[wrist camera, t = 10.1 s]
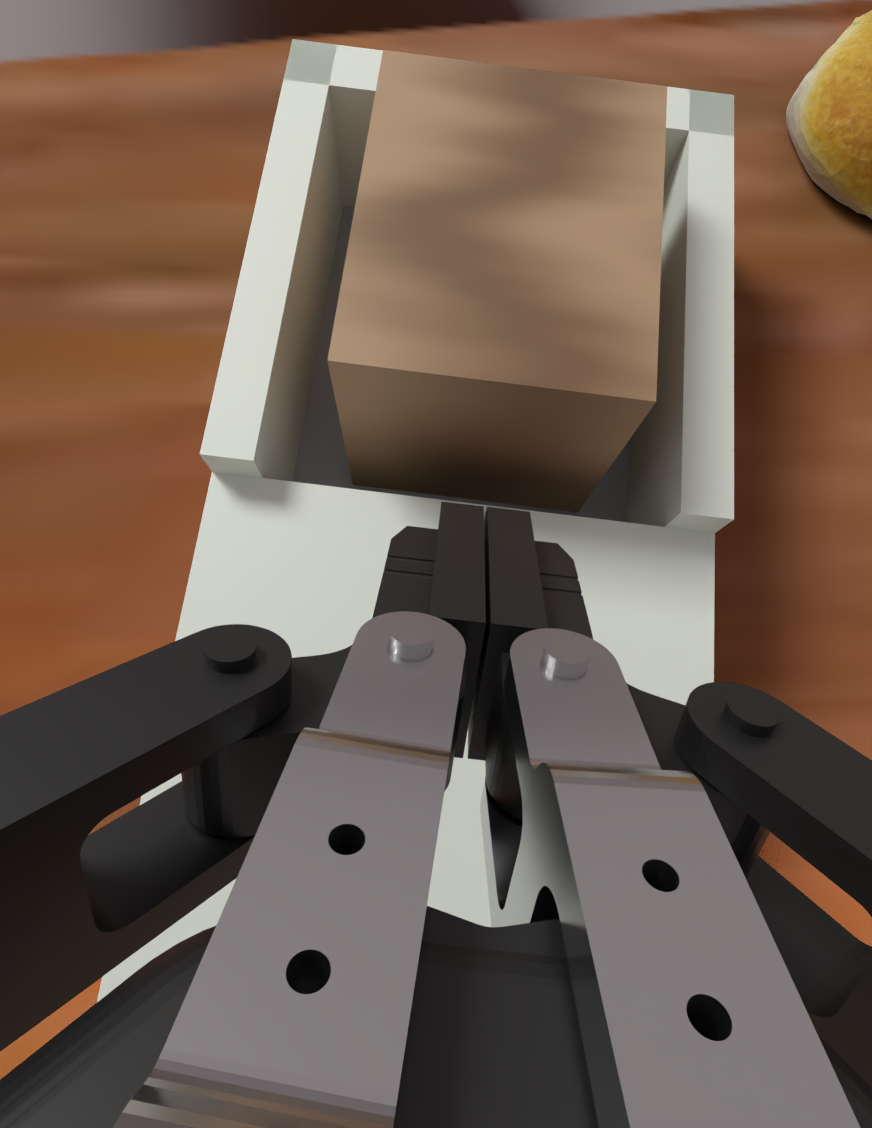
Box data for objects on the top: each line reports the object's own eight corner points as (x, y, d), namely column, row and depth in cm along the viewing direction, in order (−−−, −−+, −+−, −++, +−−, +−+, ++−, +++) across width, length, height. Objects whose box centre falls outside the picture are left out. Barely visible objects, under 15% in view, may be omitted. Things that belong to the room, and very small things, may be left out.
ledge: (111, 1193, 15) (29, 1315, 12) (245, 519, 20) (211, 472, 16) (643, 1253, 16) (708, 1392, 12) (662, 570, 20) (714, 532, 16)
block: (327, 360, 14) (383, 50, 16) (352, 484, 20) (390, 250, 22) (656, 401, 14) (667, 86, 16) (577, 512, 20) (593, 276, 22)
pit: (245, 519, 20) (199, 453, 15) (314, 174, 23) (292, 39, 19) (662, 570, 20) (734, 519, 15) (672, 218, 23) (734, 95, 19)
